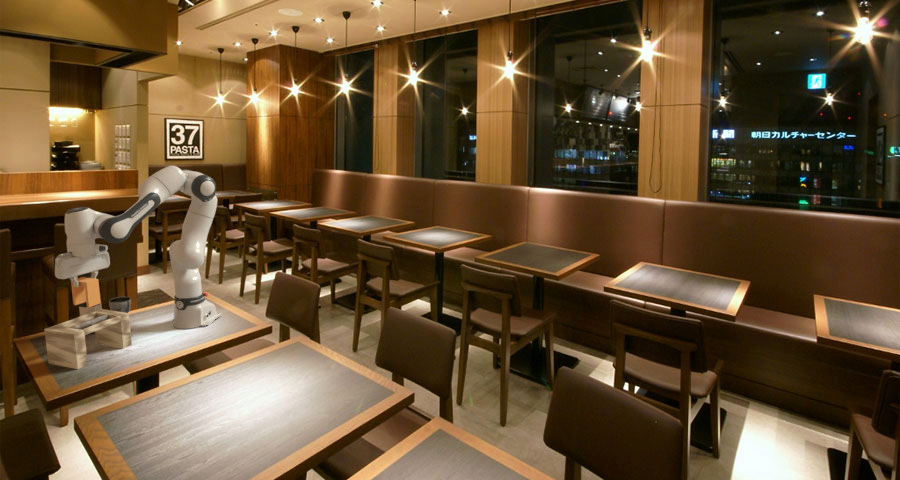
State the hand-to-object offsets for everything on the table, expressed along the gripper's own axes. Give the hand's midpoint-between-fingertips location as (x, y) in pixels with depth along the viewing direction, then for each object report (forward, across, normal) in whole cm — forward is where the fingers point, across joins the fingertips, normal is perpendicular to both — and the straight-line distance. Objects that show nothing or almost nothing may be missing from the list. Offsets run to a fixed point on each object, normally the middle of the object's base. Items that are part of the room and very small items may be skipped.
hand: (85, 284), depth 197 cm
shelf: (+29, 0, 0) cm, 29 cm away
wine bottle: (+29, +18, +20) cm, 40 cm away
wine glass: (+29, +22, +8) cm, 38 cm away
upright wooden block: (+8, 0, 0) cm, 8 cm away
